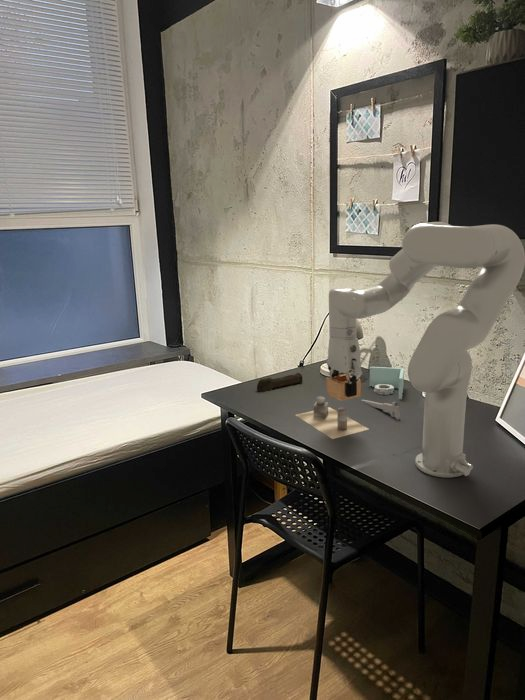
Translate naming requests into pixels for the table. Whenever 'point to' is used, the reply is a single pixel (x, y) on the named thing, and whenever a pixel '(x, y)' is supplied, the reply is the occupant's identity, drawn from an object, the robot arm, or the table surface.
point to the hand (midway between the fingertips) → (343, 391)
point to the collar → (340, 387)
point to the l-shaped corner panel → (387, 380)
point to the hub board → (331, 420)
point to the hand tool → (278, 382)
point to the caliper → (386, 407)
